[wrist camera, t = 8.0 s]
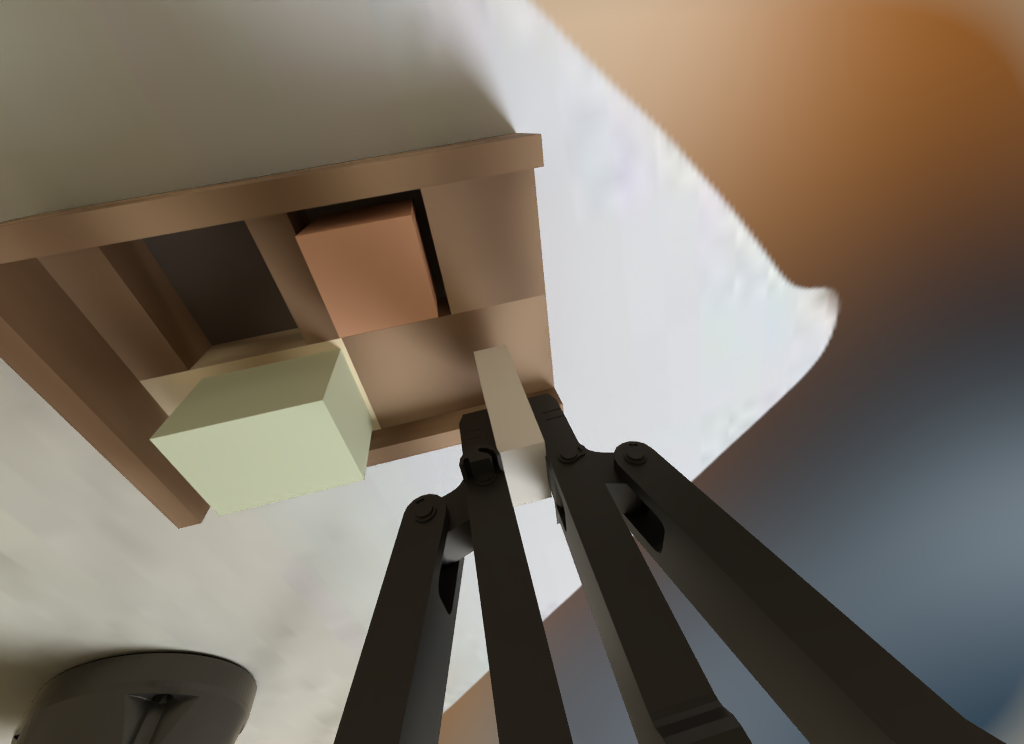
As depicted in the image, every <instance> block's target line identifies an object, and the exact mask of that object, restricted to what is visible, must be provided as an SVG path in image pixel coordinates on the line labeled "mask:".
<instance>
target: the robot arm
mask: <svg viewBox="0 0 1024 744" xmlns="http://www.w3.org/2000/svg"><path fill="white" fill-rule="evenodd" d="M474 356H475V360H476V365H477V369H478V374H479V378H480V382H481V387H482V391H483V395H484V400H485V404H486V408H487V409H484V410H479V411H475V412H471V413H467V414H463V415H462V418H461V420H460V423H459V429H460V436H461V444H462V451H463V455H462V457H461V458H460V464H459V466H460V469H461V472H462V476H463V481H462V482H461V484H460V485H459V486H458V487H457V488H456V489H455V490H453V491H452V492H451V493H449V494H447V495H445V496H443V497H442V498H441V497H440V496H438V495H434V494H427V495H423V496H420V497H418V498H417V499H415V500H413V501H412V502H411V503H410V504H409V505H408V507H407V509H406V511H405V512H404V515H403V518H402V522H401V525H400V528H399V532H398V535H397V538H396V541H395V545H394V548H393V551H392V554H391V558H390V561H389V564H388V567H387V571H386V574H385V577H384V581H383V584H382V587H381V590H380V594H379V597H378V600H377V603H376V607H375V610H374V613H373V617H372V620H371V623H370V626H369V630H368V633H367V636H366V639H365V643H364V646H363V649H362V652H361V656H360V659H359V662H358V666H357V669H356V672H355V675H354V679H353V682H352V685H351V688H350V692H349V695H348V698H347V702H346V705H345V708H344V711H343V715H342V718H341V721H340V724H339V728H338V731H337V734H336V737H335V741H334V744H438V741H439V734H440V727H441V719H442V713H443V706H444V699H445V691H446V684H447V677H448V670H449V663H450V656H451V649H452V642H453V635H454V627H455V620H456V613H457V606H458V599H459V592H460V585H461V578H462V570H463V563H464V557H465V556H466V555H468V554H469V553H471V552H472V551H474V556H475V564H476V571H477V579H478V586H479V594H480V601H481V609H482V616H483V624H484V631H485V639H486V646H487V654H488V661H489V669H490V676H491V684H492V691H493V699H494V707H495V714H496V722H497V729H498V737H499V744H573V742H572V737H571V734H570V729H569V726H568V722H567V718H566V714H565V710H564V706H563V702H562V698H561V694H560V690H559V686H558V682H557V678H556V674H555V670H554V666H553V662H552V659H551V654H550V650H549V646H548V643H547V638H546V635H545V631H544V627H543V623H542V619H541V615H540V611H539V607H538V603H537V599H536V595H535V591H534V587H533V583H532V579H531V575H530V571H529V567H528V563H527V559H526V555H525V551H524V548H523V544H522V540H521V536H520V532H519V528H518V524H517V520H516V516H515V512H514V508H513V507H516V506H519V505H523V504H527V503H531V502H534V501H538V500H542V499H546V498H549V497H552V496H551V492H552V495H553V498H554V500H555V508H556V517H557V524H558V523H560V524H561V526H562V529H563V532H564V535H565V538H566V541H567V543H568V546H569V549H570V552H571V555H572V557H573V560H574V563H575V566H576V569H577V572H578V574H579V577H580V580H581V583H582V586H583V588H584V591H585V594H586V597H587V599H588V602H589V605H590V608H591V611H592V613H593V616H594V619H595V622H596V625H597V627H598V631H599V633H600V636H601V639H602V642H603V645H604V647H605V650H606V653H607V656H608V659H609V662H610V664H611V667H612V670H613V673H614V675H615V678H616V681H617V684H618V687H619V690H620V692H621V695H622V698H623V701H624V704H625V706H626V709H627V712H628V715H629V718H630V721H631V724H632V726H633V729H634V732H635V735H636V737H637V740H638V743H639V744H752V743H751V741H750V739H749V738H748V736H747V735H746V733H745V731H744V729H743V728H742V726H741V725H740V723H739V722H738V721H737V719H736V718H735V717H734V715H733V714H732V713H730V712H729V711H728V710H727V709H726V708H724V707H723V706H722V704H721V703H720V702H719V701H718V699H717V697H716V695H715V694H714V692H713V690H712V688H711V686H710V684H709V682H708V680H707V678H706V676H705V675H704V673H703V671H702V669H701V667H700V665H699V663H698V661H697V659H696V657H695V655H694V653H693V652H692V650H691V648H690V646H689V644H688V642H687V640H686V638H685V636H684V634H683V632H682V631H681V629H680V627H679V625H678V623H677V621H676V619H675V617H674V615H673V614H672V611H671V609H670V607H669V605H668V604H667V602H666V600H665V598H664V596H663V594H662V592H661V590H660V588H659V586H658V584H657V582H656V580H655V579H654V577H653V575H652V573H651V571H650V569H649V567H648V565H647V563H646V561H645V559H644V558H643V556H642V554H641V552H640V550H639V548H638V546H637V544H636V542H635V540H634V538H633V536H632V534H633V535H634V536H635V538H636V539H637V540H638V541H639V542H640V543H641V545H642V546H643V547H644V548H645V549H646V551H647V552H648V553H649V554H650V555H651V556H652V558H653V559H654V560H655V561H656V562H657V563H658V565H659V566H660V567H661V568H662V569H663V571H664V572H665V573H666V574H667V575H668V576H669V578H670V579H671V580H672V581H673V582H674V584H675V585H676V586H677V587H678V588H679V589H680V591H681V592H682V593H683V594H684V595H685V596H686V598H687V599H688V600H689V601H690V602H691V604H692V605H693V606H694V607H695V608H696V609H697V611H698V612H699V613H700V614H701V615H702V617H703V618H704V619H705V620H706V621H707V622H708V623H709V625H710V626H711V627H712V628H713V629H714V631H715V632H716V633H717V634H718V635H719V637H720V638H721V639H722V640H723V641H724V642H725V644H726V645H727V646H728V647H729V648H730V649H731V651H732V652H733V653H734V654H735V655H736V657H737V658H738V659H739V660H740V661H741V662H742V664H743V665H744V666H745V667H746V668H747V669H748V671H749V672H750V673H751V674H752V675H753V677H754V678H755V679H756V680H757V681H758V682H759V684H760V685H761V686H762V687H763V688H764V690H765V691H766V692H767V693H768V694H769V695H770V697H771V698H772V699H773V700H774V701H775V702H776V704H777V705H778V706H779V707H780V708H781V709H782V711H783V712H784V713H785V714H786V715H787V717H788V718H789V719H790V720H791V721H792V722H793V724H794V725H795V726H796V727H797V728H798V730H799V731H800V732H801V733H802V734H803V735H804V736H805V738H806V739H807V740H808V741H809V743H810V744H1006V743H1004V742H1002V741H1001V740H999V739H997V738H996V737H994V736H992V735H991V734H989V733H988V732H986V731H984V730H983V729H981V728H979V727H977V726H976V725H974V724H973V723H971V722H969V721H968V720H966V719H965V718H963V717H962V716H961V715H960V714H959V713H958V712H957V711H955V710H954V709H953V708H952V707H951V706H950V705H948V704H947V703H946V702H945V701H944V700H943V699H941V698H940V697H939V696H938V695H937V694H936V693H935V692H933V691H932V690H931V689H930V688H929V687H928V686H926V685H925V684H924V683H923V682H922V681H921V680H920V679H918V678H917V677H916V676H915V675H914V674H913V673H911V672H910V671H909V670H908V669H907V668H906V667H904V666H903V665H902V664H901V663H900V662H899V661H898V660H896V659H895V658H894V657H893V656H892V655H891V654H889V653H888V652H887V651H886V650H885V649H884V648H882V647H881V646H880V645H879V644H878V643H877V642H875V641H874V640H873V639H872V638H871V637H870V636H869V635H867V634H866V633H865V632H864V631H863V630H862V629H860V628H859V627H858V626H857V625H856V624H854V622H852V621H851V620H850V619H849V618H848V617H847V616H845V615H844V614H843V613H842V612H841V611H839V609H837V608H836V607H835V606H834V605H833V604H831V603H830V602H829V601H828V600H827V599H826V598H824V597H823V596H822V595H821V594H820V593H819V592H818V591H816V590H815V589H814V588H813V587H812V586H811V585H810V584H808V583H807V582H806V581H805V580H804V579H803V578H801V577H800V576H799V575H798V574H797V573H796V572H795V571H793V570H792V569H791V568H790V567H789V566H787V565H786V564H785V563H784V562H783V561H782V560H781V559H779V558H778V557H777V556H776V555H775V554H774V553H773V552H771V551H770V550H769V549H768V548H767V547H766V546H764V545H763V544H762V543H761V542H760V541H759V540H758V539H756V538H755V537H754V536H753V535H752V534H751V533H749V532H748V531H747V530H746V529H745V528H744V527H742V526H741V525H740V524H739V523H738V522H737V521H736V520H734V519H733V518H732V517H731V516H730V515H728V514H727V513H726V512H725V511H724V510H723V509H722V508H720V507H719V506H718V505H717V504H716V503H715V502H714V501H712V500H711V499H710V498H709V497H708V496H707V495H705V494H704V493H703V492H702V491H701V490H700V489H698V488H697V487H696V486H695V485H694V484H693V483H692V482H690V481H689V480H688V479H687V478H686V477H685V476H683V475H682V474H681V473H680V472H679V471H678V470H677V469H675V468H674V467H673V466H672V465H671V464H670V463H668V462H667V461H666V460H665V459H664V458H663V457H661V456H660V455H659V454H658V453H657V452H656V451H655V450H653V449H652V448H651V447H649V446H648V445H646V444H644V443H640V442H634V441H629V442H625V443H622V444H620V445H619V446H618V447H616V449H615V452H614V453H601V452H594V451H590V450H588V449H586V448H585V447H584V446H583V445H581V444H580V443H579V442H578V441H577V439H576V437H575V435H574V433H573V431H572V429H571V427H570V425H569V423H568V421H567V419H566V417H565V415H564V413H563V411H562V410H561V407H560V405H559V403H558V401H557V399H555V398H554V397H552V396H551V395H550V394H548V393H547V394H543V395H538V396H534V397H530V398H527V397H526V394H525V392H524V389H523V387H522V384H521V382H520V379H519V377H518V374H517V372H516V369H515V367H514V364H513V362H512V359H511V357H510V354H509V352H508V349H507V347H506V345H501V346H497V347H493V348H488V349H484V350H479V351H475V352H474ZM631 533H632V534H631ZM256 690H257V685H256V682H255V680H254V678H253V677H252V676H251V675H250V674H249V673H248V672H247V671H245V670H244V669H242V668H241V667H239V666H237V665H234V664H232V663H229V662H226V661H223V660H220V659H216V658H211V657H206V656H200V655H192V654H179V653H149V654H135V655H126V656H119V657H113V658H108V659H103V660H99V661H95V662H91V663H87V664H84V665H81V666H78V667H75V668H73V669H70V670H68V671H66V672H64V673H62V674H60V675H58V676H56V677H55V678H53V679H51V680H50V681H49V682H47V683H46V684H45V685H44V686H43V687H42V689H41V690H40V691H39V693H38V694H37V696H36V697H35V699H34V700H33V702H32V703H31V705H30V706H29V708H28V709H27V711H26V712H25V714H24V715H23V717H22V718H21V720H20V721H19V723H18V725H17V727H16V729H15V731H14V735H13V739H12V742H11V743H12V744H234V743H235V741H236V739H237V737H238V735H239V734H240V733H241V732H242V730H243V729H244V727H245V725H246V723H247V720H248V718H249V715H250V711H251V708H252V704H253V701H254V698H255V694H256Z"/></svg>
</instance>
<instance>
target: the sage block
mask: <svg viewBox="0 0 1024 744" xmlns="http://www.w3.org/2000/svg"><path fill="white" fill-rule="evenodd" d="M372 427H373V419H372V417H371V415H370V413H369V410H368V408H367V406H366V404H365V401H364V399H363V397H362V395H361V392H360V390H359V388H358V386H357V383H356V381H355V379H354V377H353V375H352V372H351V370H350V368H349V366H348V363H347V361H346V359H345V357H344V354H343V352H342V350H341V349H337V350H332V351H327V352H323V353H318V354H313V355H309V356H304V357H299V358H295V359H290V360H285V361H281V362H276V363H271V364H267V365H262V366H257V367H253V368H248V369H244V370H239V371H234V372H230V373H225V374H220V375H216V376H211V377H206V378H202V379H201V381H200V382H199V383H198V384H197V385H196V386H195V387H194V389H193V390H192V391H191V392H190V393H189V394H188V396H187V397H186V398H185V399H184V400H183V401H182V402H181V404H180V405H179V406H178V407H177V408H176V409H175V410H174V412H173V413H172V414H171V415H170V416H169V417H168V419H167V420H166V421H165V422H164V423H163V424H162V425H161V427H160V428H159V429H158V430H157V431H156V432H155V433H154V435H153V436H152V437H151V438H150V441H151V442H152V443H153V444H154V445H155V446H156V447H157V448H158V449H159V450H160V452H161V453H162V454H163V455H164V456H165V457H166V458H167V459H168V460H169V461H170V463H171V464H172V465H173V466H174V467H175V468H176V469H177V470H178V471H179V472H180V474H181V475H182V476H183V477H184V478H185V479H186V480H187V481H188V482H189V483H190V484H191V486H192V487H193V488H194V489H195V490H196V491H197V492H198V493H199V494H200V495H201V497H202V498H203V499H204V500H205V501H206V502H207V503H208V504H209V505H210V506H211V508H212V509H213V510H214V511H215V512H216V513H217V514H218V515H219V516H221V515H225V514H229V513H233V512H237V511H241V510H245V509H249V508H253V507H257V506H261V505H265V504H269V503H273V502H277V501H281V500H285V499H289V498H293V497H297V496H301V495H305V494H309V493H313V492H317V491H321V490H325V489H329V488H333V487H337V486H341V485H346V484H350V483H354V482H358V481H362V480H364V479H365V472H366V466H367V460H368V453H369V447H370V440H371V434H372Z"/></svg>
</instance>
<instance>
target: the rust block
mask: <svg viewBox="0 0 1024 744" xmlns="http://www.w3.org/2000/svg"><path fill="white" fill-rule="evenodd" d="M295 238H296V240H297V242H298V245H299V247H300V249H301V252H302V254H303V256H304V258H305V261H306V263H307V265H308V267H309V270H310V272H311V274H312V276H313V279H314V281H315V283H316V285H317V288H318V290H319V292H320V295H321V297H322V299H323V301H324V304H325V306H326V308H327V310H328V313H329V315H330V317H331V319H332V322H333V324H334V326H335V328H336V331H337V333H338V335H339V338H343V337H348V336H352V335H357V334H362V333H366V332H371V331H376V330H381V329H385V328H390V327H395V326H399V325H404V324H409V323H413V322H418V321H423V320H427V319H432V318H437V317H438V309H437V300H436V290H435V283H434V279H433V275H432V272H431V268H430V264H429V260H428V256H427V252H426V249H425V245H424V241H423V237H422V233H421V229H420V225H419V222H418V218H417V214H416V210H415V206H414V202H413V199H412V198H411V199H406V200H400V201H395V202H389V203H384V204H378V205H373V206H367V207H362V208H356V209H351V210H345V211H340V212H334V213H329V214H323V215H319V216H318V217H317V218H316V219H315V220H314V221H312V222H311V223H310V224H309V225H308V226H307V227H305V228H304V229H303V230H302V231H301V232H300V233H299V234H297V235H296V236H295Z"/></svg>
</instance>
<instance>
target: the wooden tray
mask: <svg viewBox="0 0 1024 744" xmlns="http://www.w3.org/2000/svg"><path fill="white" fill-rule="evenodd" d="M543 166H544V163H543V150H542V138H541V134H529V133H514V134H508V135H502V136H496V137H491V138H485V139H479V140H473V141H467V142H461V143H455V144H449V145H443V146H437V147H432V148H426V149H420V150H414V151H408V152H402V153H396V154H390V155H384V156H379V157H373V158H367V159H361V160H355V161H349V162H343V163H337V164H331V165H326V166H320V167H314V168H308V169H302V170H296V171H290V172H284V173H278V174H272V175H267V176H261V177H255V178H249V179H243V180H237V181H231V182H225V183H219V184H214V185H208V186H202V187H196V188H190V189H184V190H178V191H172V192H166V193H160V194H155V195H149V196H143V197H137V198H131V199H125V200H119V201H113V202H107V203H102V204H96V205H90V206H84V207H78V208H72V209H66V210H60V211H54V212H49V213H43V214H37V215H32V216H28V217H23V218H19V219H14V220H10V221H5V222H1V223H0V357H1V358H2V359H3V360H4V361H5V362H6V363H7V364H8V365H9V366H10V367H11V368H12V369H13V370H14V371H15V372H16V373H17V374H18V375H19V376H20V377H21V378H22V379H24V380H25V381H26V382H27V383H28V384H29V385H30V386H31V387H32V388H33V389H34V390H35V391H36V392H37V393H38V394H39V395H40V396H41V397H42V398H43V399H44V400H45V401H46V402H47V403H48V404H49V405H51V406H52V407H53V408H54V409H55V410H56V411H57V412H58V413H59V414H60V415H61V416H62V417H63V418H64V419H65V420H66V421H67V422H68V423H69V424H70V425H71V426H72V427H73V428H74V429H75V430H77V431H78V432H79V433H80V434H81V435H82V436H83V437H84V438H85V439H86V440H87V441H88V442H89V443H90V444H91V445H92V446H93V447H94V448H95V449H96V450H97V451H98V452H99V453H100V454H101V455H103V456H104V457H105V458H106V459H107V460H108V461H109V462H110V463H111V464H112V465H113V466H114V467H115V468H116V469H117V470H118V471H119V472H120V473H121V474H122V475H123V476H124V477H125V478H126V479H127V480H129V481H130V482H131V483H132V484H133V485H134V486H135V487H136V488H137V489H138V490H139V491H140V492H141V493H142V494H143V495H144V496H145V497H146V498H147V499H148V500H149V501H150V502H151V503H152V504H153V505H154V506H156V507H157V508H158V509H159V510H160V511H161V512H162V513H163V514H164V515H165V516H166V517H167V518H168V519H169V520H170V521H171V522H172V523H173V524H174V525H175V526H176V527H177V528H178V529H179V528H183V527H187V526H191V525H195V524H199V523H201V522H202V521H203V519H204V517H205V515H206V513H207V511H208V510H209V508H210V505H209V504H208V503H207V502H206V501H205V500H204V499H203V498H202V497H201V495H200V494H199V493H198V492H197V491H196V490H195V489H194V488H193V487H192V486H191V484H190V483H189V482H188V481H187V480H186V479H185V478H184V477H183V476H182V475H181V474H180V472H179V471H178V470H177V469H176V468H175V467H174V466H173V465H172V464H171V463H170V461H169V460H168V459H167V458H166V457H165V456H164V455H163V454H162V453H161V452H160V450H159V449H158V448H157V447H156V446H155V445H154V444H153V443H152V442H151V441H150V438H151V437H152V436H153V435H154V433H155V432H156V431H157V430H158V429H159V428H160V427H161V425H162V424H163V423H164V422H165V421H166V420H167V419H168V417H169V416H170V415H171V414H172V413H173V412H174V410H175V409H176V408H177V407H178V406H179V405H180V404H181V402H182V401H183V400H184V399H185V398H186V397H187V396H188V394H189V393H190V392H191V391H192V390H193V389H194V387H195V386H196V385H197V384H198V383H199V382H200V381H201V379H202V378H206V377H211V376H216V375H220V374H225V373H230V372H234V371H239V370H244V369H248V368H253V367H257V366H262V365H267V364H271V363H276V362H281V361H285V360H290V359H295V358H299V357H304V356H309V355H313V354H318V353H323V352H327V351H332V350H337V349H341V350H342V352H343V354H344V357H345V359H346V361H347V363H348V366H349V368H350V370H351V372H352V375H353V377H354V379H355V381H356V383H357V386H358V388H359V390H360V392H361V395H362V397H363V399H364V401H365V404H366V406H367V408H368V410H369V413H370V415H371V417H372V419H373V427H372V434H371V440H370V447H369V453H368V460H367V466H366V467H369V466H373V465H377V464H381V463H385V462H390V461H394V460H398V459H402V458H406V457H410V456H414V455H418V454H422V453H426V452H430V451H434V450H438V449H442V448H446V447H450V446H454V445H458V444H461V436H460V429H459V423H460V420H461V418H462V415H463V414H467V413H471V412H475V411H479V410H484V409H487V408H486V404H485V400H484V395H483V391H482V387H481V382H480V378H479V374H478V369H477V365H476V360H475V356H474V352H475V351H479V350H484V349H488V348H493V347H497V346H501V345H506V347H507V349H508V352H509V354H510V357H511V359H512V362H513V364H514V367H515V369H516V372H517V374H518V377H519V379H520V382H521V384H522V387H523V389H524V392H525V394H526V397H527V398H530V397H534V396H538V395H543V394H547V393H548V394H550V395H551V396H552V397H554V398H555V399H557V401H558V403H559V405H560V407H561V410H562V411H563V404H562V402H561V400H560V398H559V396H558V394H557V392H556V390H555V388H554V380H553V369H552V359H551V348H550V337H549V326H548V316H547V305H546V294H545V283H544V272H543V262H542V251H541V240H540V229H539V219H538V208H537V197H536V186H535V176H534V168H538V167H543ZM411 198H412V199H413V202H414V206H415V210H416V214H417V218H418V222H419V225H420V229H421V233H422V237H423V241H424V245H425V249H426V252H427V256H428V260H429V264H430V268H431V272H432V275H433V279H434V283H435V290H436V300H437V309H438V317H437V318H432V319H427V320H423V321H418V322H413V323H409V324H404V325H399V326H395V327H390V328H385V329H381V330H376V331H371V332H366V333H362V334H357V335H352V336H348V337H343V338H339V335H338V333H337V331H336V328H335V326H334V324H333V322H332V319H331V317H330V315H329V313H328V310H327V308H326V306H325V304H324V301H323V299H322V297H321V295H320V292H319V290H318V288H317V285H316V283H315V281H314V279H313V276H312V274H311V272H310V270H309V267H308V265H307V263H306V261H305V258H304V256H303V254H302V252H301V249H300V247H299V245H298V242H297V240H296V238H295V236H296V235H297V234H299V233H300V232H301V231H302V230H303V229H304V228H305V227H307V226H308V225H309V224H310V223H311V222H312V221H314V220H315V219H316V218H317V217H318V216H319V215H323V214H329V213H334V212H340V211H345V210H351V209H356V208H362V207H367V206H373V205H378V204H384V203H389V202H395V201H400V200H406V199H411Z"/></svg>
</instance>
